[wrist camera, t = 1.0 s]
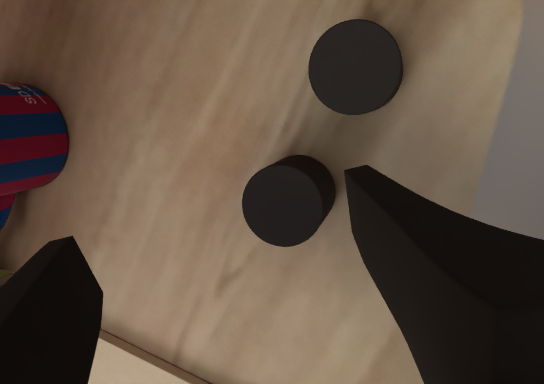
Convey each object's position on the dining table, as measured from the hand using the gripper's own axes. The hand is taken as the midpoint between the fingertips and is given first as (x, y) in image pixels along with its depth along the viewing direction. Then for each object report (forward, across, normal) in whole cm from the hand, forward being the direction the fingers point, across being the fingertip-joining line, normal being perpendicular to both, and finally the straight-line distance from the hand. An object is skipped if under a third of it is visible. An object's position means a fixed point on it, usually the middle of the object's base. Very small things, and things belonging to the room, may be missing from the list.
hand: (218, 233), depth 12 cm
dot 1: (+12, -3, +7) cm, 14 cm away
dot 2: (+13, -8, +1) cm, 15 cm away
